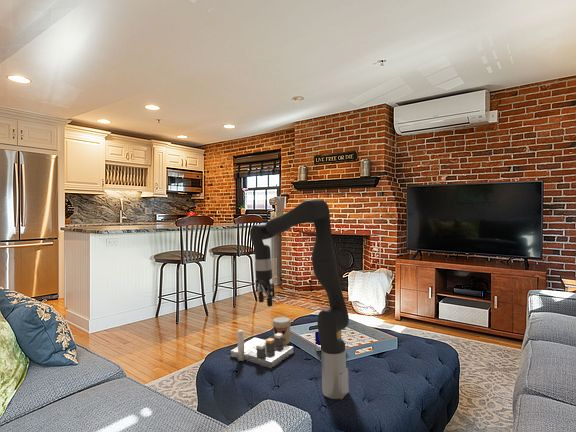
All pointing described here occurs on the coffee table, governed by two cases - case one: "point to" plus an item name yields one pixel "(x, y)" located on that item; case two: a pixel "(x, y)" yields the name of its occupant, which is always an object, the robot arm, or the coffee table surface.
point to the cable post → (240, 345)
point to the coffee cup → (282, 328)
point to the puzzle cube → (318, 336)
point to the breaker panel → (271, 357)
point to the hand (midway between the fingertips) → (265, 304)
